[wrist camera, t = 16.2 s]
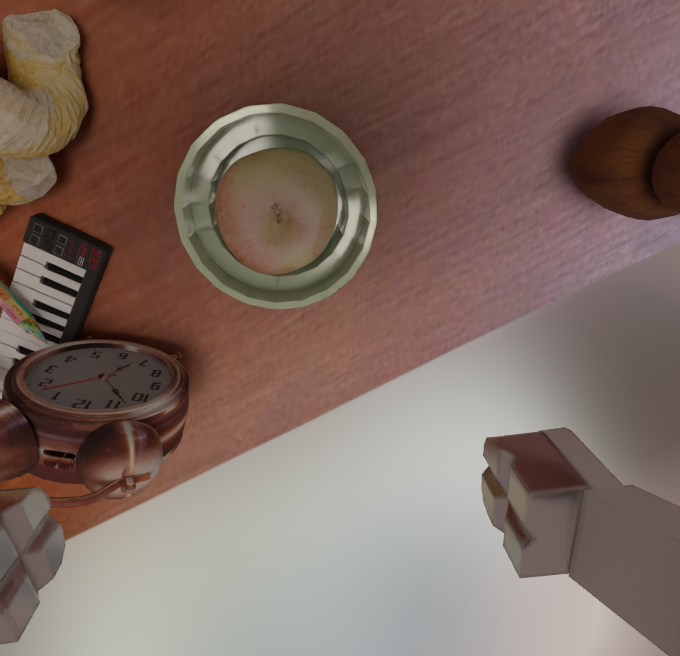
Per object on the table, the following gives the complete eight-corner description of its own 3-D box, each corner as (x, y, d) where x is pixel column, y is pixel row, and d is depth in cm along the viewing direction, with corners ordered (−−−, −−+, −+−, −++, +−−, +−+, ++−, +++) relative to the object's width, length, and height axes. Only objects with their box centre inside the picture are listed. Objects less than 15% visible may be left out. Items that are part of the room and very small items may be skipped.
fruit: (238, 128, 29) (218, 125, 22) (346, 165, 31) (361, 174, 23) (213, 240, 32) (187, 272, 24) (313, 270, 33) (318, 308, 26)
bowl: (361, 102, 30) (372, 96, 25) (369, 278, 34) (380, 299, 30) (176, 116, 29) (153, 112, 25) (210, 293, 34) (196, 317, 29)
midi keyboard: (29, 215, 29) (106, 251, 31) (40, 212, 31) (113, 247, 32) (-35, 419, 35) (33, 443, 36) (-24, 409, 36) (41, 433, 37)
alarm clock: (207, 346, 35) (149, 480, 21) (199, 399, 37) (141, 554, 23) (57, 320, 33) (-112, 448, 20) (56, 377, 35) (-100, 531, 21)
